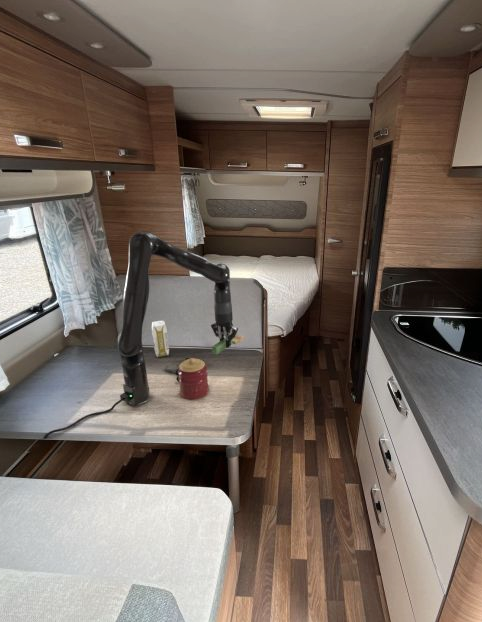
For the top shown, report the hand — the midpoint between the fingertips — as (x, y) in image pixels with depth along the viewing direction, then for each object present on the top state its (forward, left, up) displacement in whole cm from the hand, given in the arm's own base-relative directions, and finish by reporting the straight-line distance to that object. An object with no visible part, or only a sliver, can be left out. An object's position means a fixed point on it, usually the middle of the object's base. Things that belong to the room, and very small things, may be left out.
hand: (225, 346), depth 151 cm
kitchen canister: (-9, +13, -23) cm, 28 cm away
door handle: (+3, +31, -23) cm, 39 cm away
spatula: (+1, 0, 0) cm, 2 cm away
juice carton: (+12, +54, -23) cm, 60 cm away
